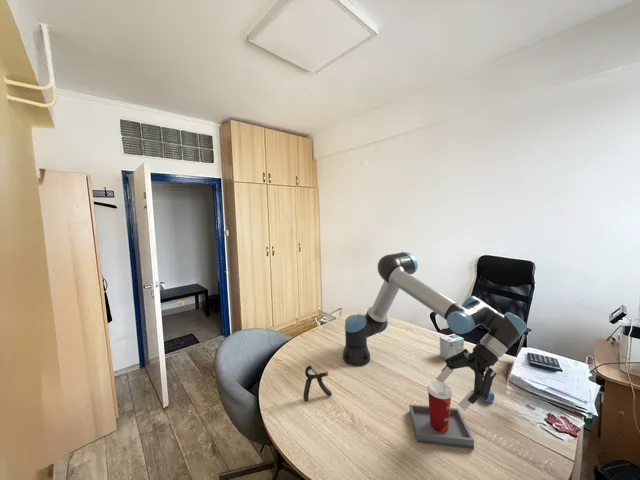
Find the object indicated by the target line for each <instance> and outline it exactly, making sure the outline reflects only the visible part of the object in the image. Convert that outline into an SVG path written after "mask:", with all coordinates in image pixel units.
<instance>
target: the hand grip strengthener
mask: <svg viewBox="0 0 640 480" xmlns="http://www.w3.org/2000/svg"><path fill="white" fill-rule="evenodd" d="M310 370H311V371H312V372H313V374H310V373H309V371H310ZM304 373H305V374H304V375H305V376H306V378H307V379H306V380H305V384H304V389H303V400H304V402H308V401H309V394H310V389H311V385H312V382H313V380H314V379H316V380H317V384H318V385H319V387H320V389H321V391H323V393H325V395H326V396H328V397H329V398H330V397H331V396H332V395H333V393H332V390H330V389H329V388H328V387H327V386H326V385H325V384H324V382H323V378H324V377H328V376H329V372H328V371H324V372H320V373H319V372H318V371H316V370H315V368H313V367H312V365H308V366H307V367H306V368H305V370H304Z"/></svg>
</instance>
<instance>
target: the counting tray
mask: <svg viewBox="0 0 640 480" xmlns="http://www.w3.org/2000/svg"><path fill="white" fill-rule="evenodd" d="M409 413H410V414H409V415H410V418H411V422H412V427H413V431H414V434H415V440H416V443H418V444H419V443H421V444H429V445H437V446H445V447H446V446H447V447H456V448H464V449H472V450H473V449H475V439H474V437H473V436H472V434H471V431H470V430H469V426H468V425H467V424H466V421H465V420H464V418H463V416H462V413H461V412H460V409H459V408H454V407H450V416H449V427H448V431H447V432H444V433H441V432H438V431H436V430H434V429H433V428H432V427H431V424H430V413H429V405H420V404H409Z"/></svg>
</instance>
